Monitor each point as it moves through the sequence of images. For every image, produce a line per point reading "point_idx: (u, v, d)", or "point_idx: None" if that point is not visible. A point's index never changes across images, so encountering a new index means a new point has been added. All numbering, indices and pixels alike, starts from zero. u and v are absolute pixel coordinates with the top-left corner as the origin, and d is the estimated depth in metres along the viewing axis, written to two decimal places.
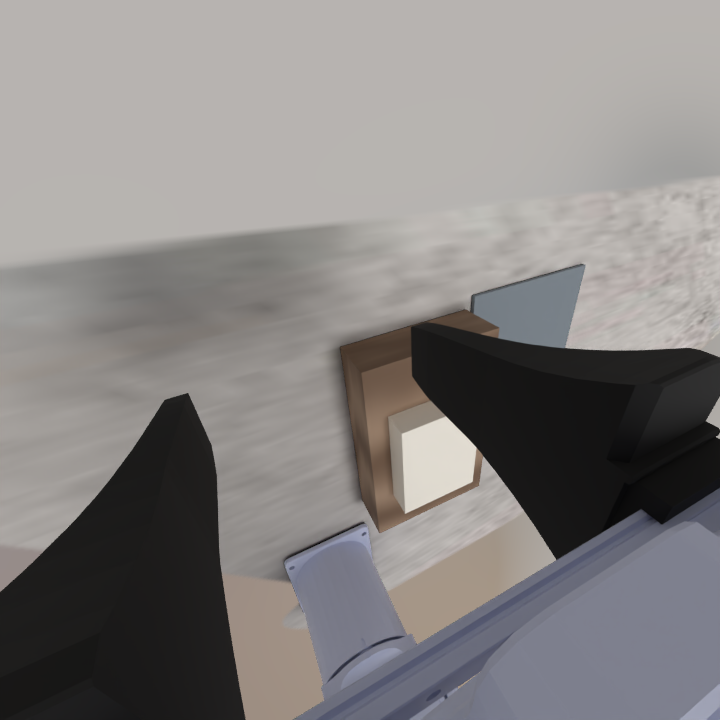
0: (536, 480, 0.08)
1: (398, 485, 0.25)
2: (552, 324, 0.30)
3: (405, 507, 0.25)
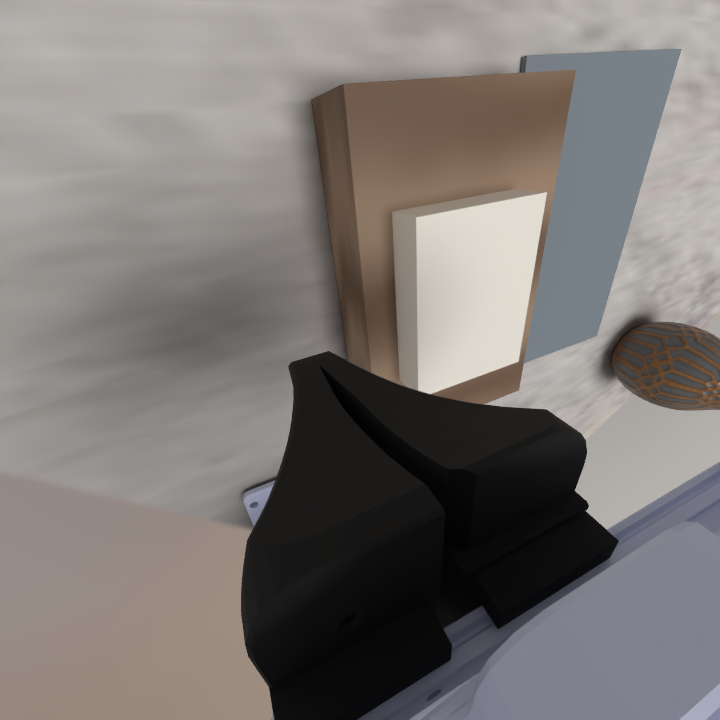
0: None
1: (407, 350, 0.16)
2: (626, 152, 0.21)
3: (419, 387, 0.16)
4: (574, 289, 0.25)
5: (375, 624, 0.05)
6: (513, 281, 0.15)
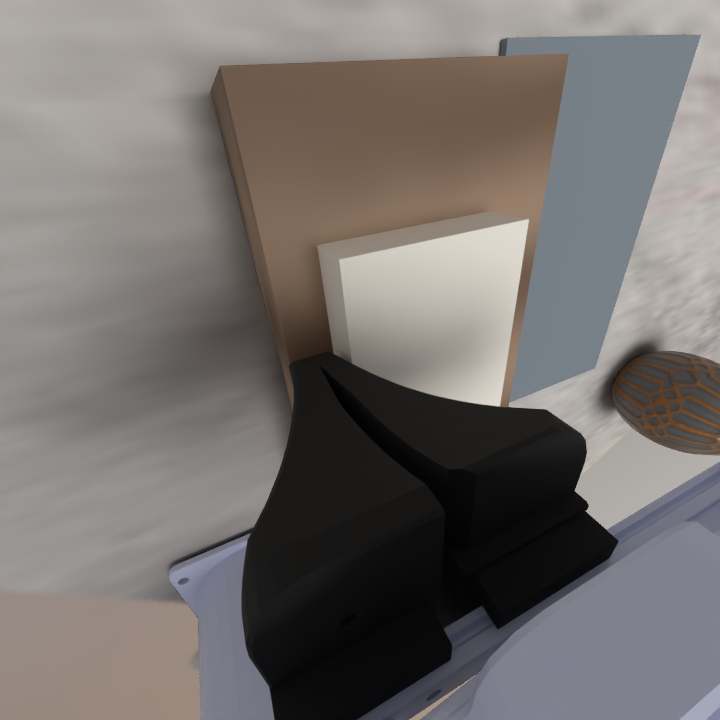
0: None
1: None
2: (631, 161, 0.18)
3: None
4: (569, 318, 0.21)
5: (375, 624, 0.05)
6: (486, 332, 0.12)
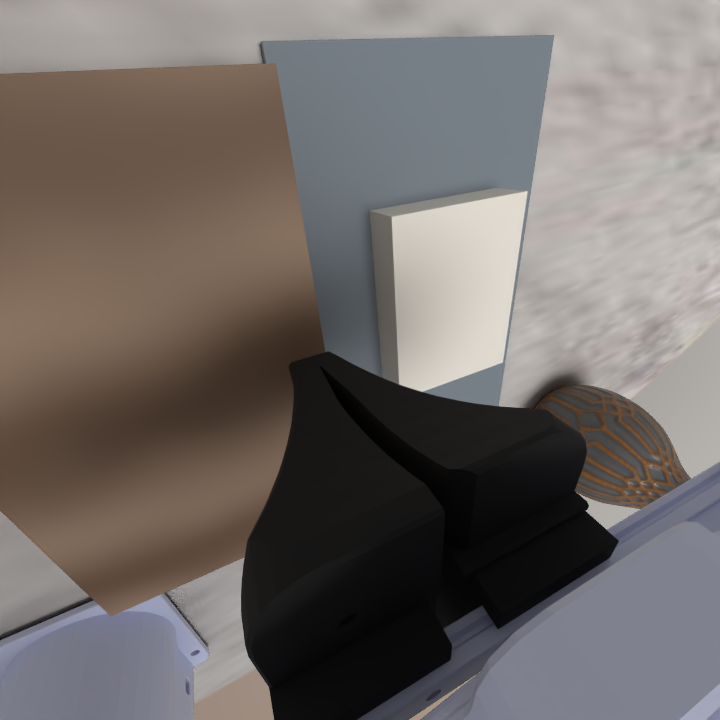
0: None
1: None
2: (490, 184, 0.15)
3: None
4: None
5: (375, 624, 0.05)
6: None
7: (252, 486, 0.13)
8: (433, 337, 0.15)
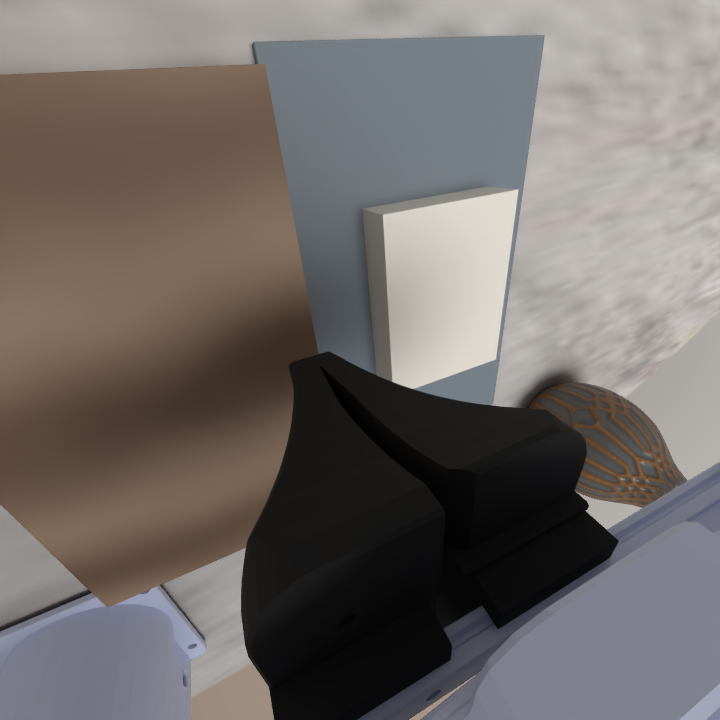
0: None
1: None
2: (482, 182, 0.15)
3: None
4: None
5: (375, 624, 0.05)
6: None
7: (246, 479, 0.13)
8: (425, 333, 0.15)
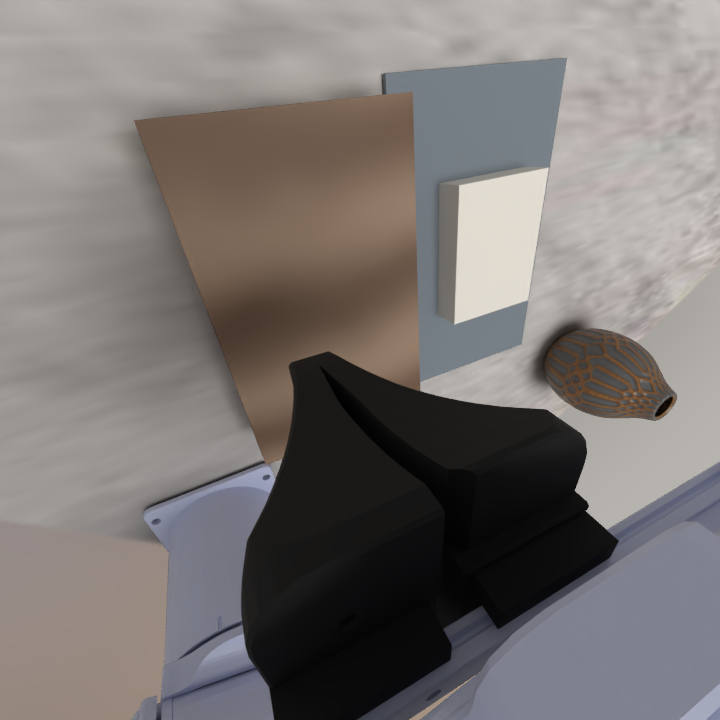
0: None
1: None
2: (521, 164, 0.21)
3: None
4: None
5: (375, 624, 0.05)
6: None
7: None
8: (480, 275, 0.21)
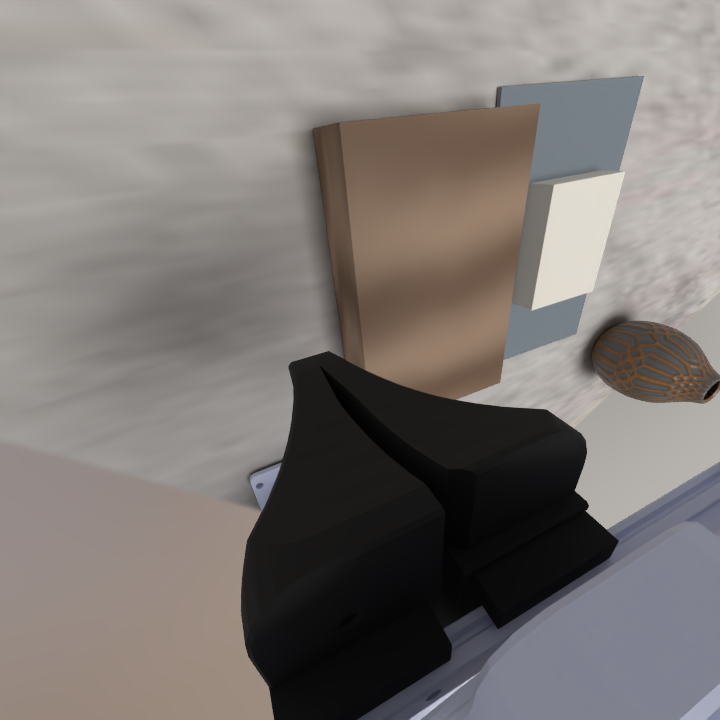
0: None
1: None
2: (596, 167, 0.23)
3: None
4: None
5: (375, 624, 0.05)
6: None
7: (460, 350, 0.22)
8: (558, 266, 0.24)
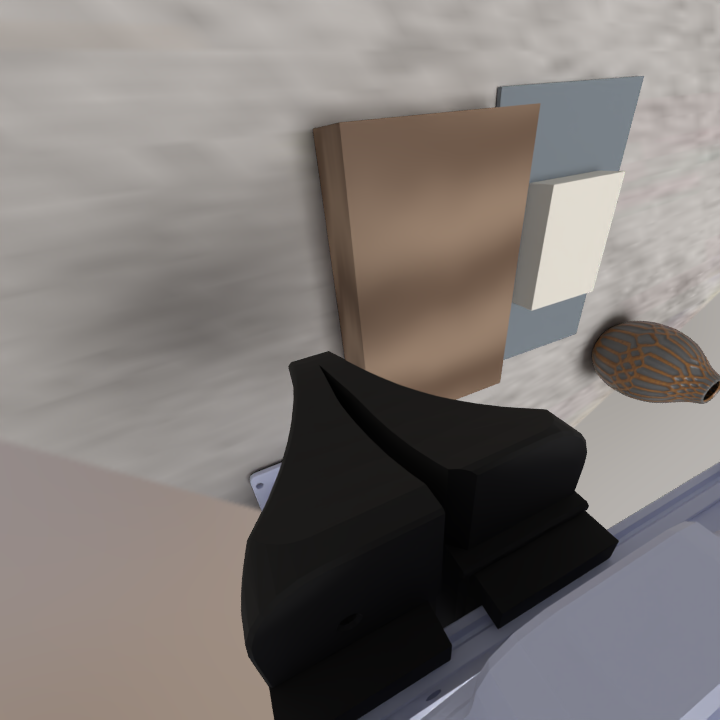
0: None
1: None
2: (596, 167, 0.23)
3: None
4: None
5: (375, 624, 0.05)
6: None
7: (460, 350, 0.22)
8: (558, 266, 0.24)
